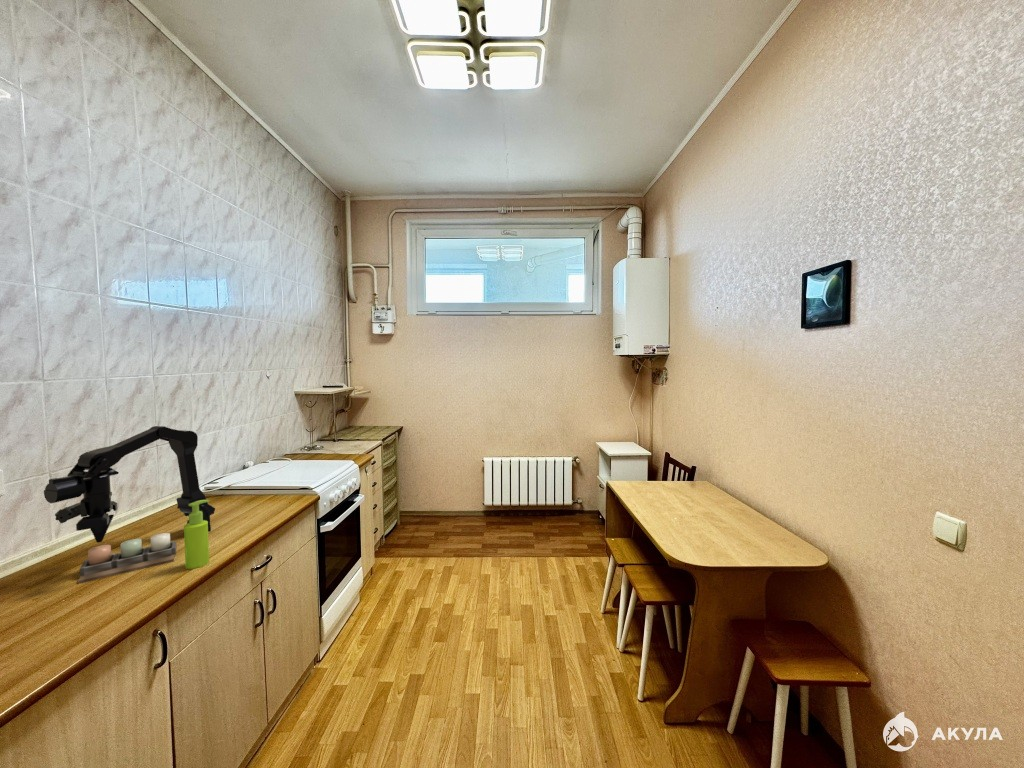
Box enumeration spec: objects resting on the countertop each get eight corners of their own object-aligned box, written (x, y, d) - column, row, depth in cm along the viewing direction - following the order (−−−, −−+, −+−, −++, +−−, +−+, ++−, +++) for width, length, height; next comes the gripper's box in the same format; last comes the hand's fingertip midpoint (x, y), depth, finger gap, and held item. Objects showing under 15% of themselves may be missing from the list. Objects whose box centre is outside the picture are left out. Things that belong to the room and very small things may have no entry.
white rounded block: (170, 543, 132) (170, 531, 132) (169, 548, 129) (169, 536, 129) (151, 547, 129) (151, 535, 129) (150, 552, 126) (149, 540, 126)
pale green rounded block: (142, 549, 128) (142, 537, 128) (140, 554, 124) (140, 542, 124) (122, 553, 125) (121, 541, 125) (119, 559, 121) (119, 546, 121)
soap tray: (177, 545, 137) (177, 537, 137) (175, 561, 126) (174, 551, 126) (88, 565, 124) (87, 555, 124) (76, 584, 113) (76, 573, 113)
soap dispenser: (217, 559, 127) (214, 499, 126) (193, 570, 120) (191, 506, 119) (204, 557, 129) (202, 497, 128) (181, 567, 122) (178, 504, 121)
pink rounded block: (112, 555, 124) (112, 543, 124) (109, 561, 120) (109, 548, 120) (90, 560, 121) (90, 547, 121) (87, 566, 117) (86, 553, 117)
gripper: (66, 490, 122) (69, 538, 123) (47, 506, 107) (50, 561, 108) (116, 483, 129) (118, 529, 129) (105, 498, 114) (108, 550, 115)
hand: (99, 542), depth 120 cm, fingers closed
